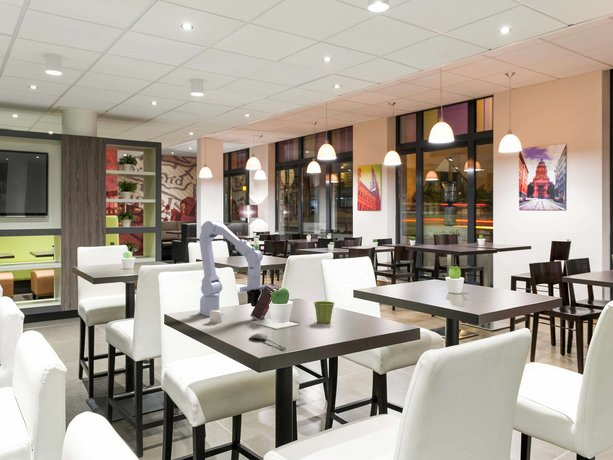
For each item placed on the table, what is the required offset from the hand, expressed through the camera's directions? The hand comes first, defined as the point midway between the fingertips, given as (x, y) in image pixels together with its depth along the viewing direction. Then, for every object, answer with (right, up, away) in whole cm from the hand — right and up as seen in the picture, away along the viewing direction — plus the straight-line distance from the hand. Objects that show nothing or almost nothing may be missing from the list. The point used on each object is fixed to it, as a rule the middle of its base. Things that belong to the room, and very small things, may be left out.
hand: (253, 306), depth 223 cm
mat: (+10, -6, -11) cm, 16 cm away
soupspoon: (+10, -7, -44) cm, 46 cm away
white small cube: (-16, -6, -10) cm, 19 cm away
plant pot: (+32, -6, -6) cm, 33 cm away
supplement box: (+2, -5, -2) cm, 5 cm away
